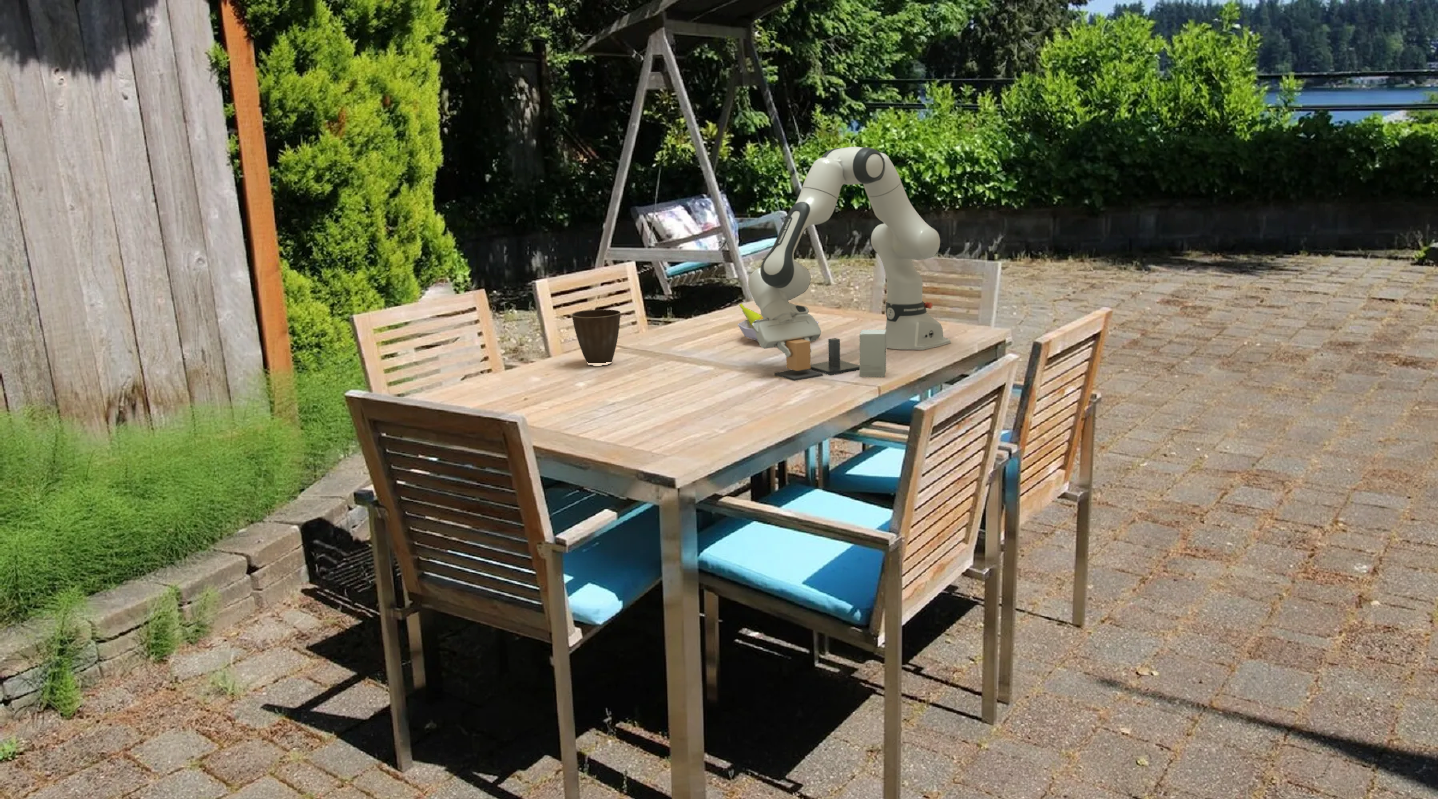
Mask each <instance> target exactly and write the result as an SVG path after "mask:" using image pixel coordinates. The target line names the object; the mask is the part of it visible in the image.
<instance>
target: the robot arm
mask: <svg viewBox="0 0 1438 799" xmlns="http://www.w3.org/2000/svg"><path fill="white" fill-rule="evenodd" d="M861 184H862V185H863V187H864V190H865V193H866V196H867V199H868V201H869V203H870V206H871V208H872V210H873V212H874V215H875V217H876V218H877V219H878V220H879V221H880V222H882V223H880V224H878V225H877V226H875V228H873V231H872V232H871V234H870V235H871V236H870V243H871V244H870V245H871V247H872V248H873V250H874V251H875V253H876V254H877V256H879V258H880V261H881V263H882V265H883V270H884V272H885V277H886V292H887V293H886V302H885V316H886V320H885V321H886V323H885V329H884V330H886V349H892V350H917V351H918V350H919V351H922V350H923V351H924V350H929V349H932V348H937V347H940V346H944V345H948V344H951V339H949V338H947V337H945V336H944V330H943V329H944V328H943V326H942V323H941V322H939V321H938V320H937V319H936V318H934V317H933V316H931V315H930V314H929V313H928V311H927V309H930V310H931V309H932V308H933V306H934V305H933V303H932V302H928V301H926V302H925V301H923V277H922V275H921V273H919V271H918V270H917V269H916V267H915V265H914V262H913V261H915V260H916V261H920V260H927V259H928V260H929V259H932V258H933V257H934V256H936V255H937V253H938V252H939V249H940V244H941V238H940V234H939V232H938V231H937V230H936V229H935V228H933V227H931V226H930V225H929V224H928V223H927V222H925V220H924V219H923V218H922V217H921V215H919V213H918V212H917V211H916V209H915V207H914V206H913V205H912V203H911V201H910V199H909V198H908V195H907V192H906V191H905V188H904V184H903V183H902V180H901V178H900V175H899V173H898V171H897V169H896V167H895V166H894V164H893V162H892V161H891V159H890V158H889V156H888V155H887V154H886V153H884V152H880V151H878V150H877V149H875V148H872V147H868V146H867V147H866V146H865V147H862V146H861V147H860V146H849V147H847V146H846V147H841V148H840V147H835V148H832V149H829V150H828V151H826V152H825V153H824V154H823V155H822V157H820V158H818V159H815V161H814V162H813V163H812V166H811V167H810V169H809V171H808V173H807V174H806V177H805V179H804V182H803V184H802V187H801V189H800V193H799V195H798V197H797V200H796V202H795V203H794V204H793V205H792V206H791V208H790V210H789V211H788V213H787V215H786V217H785V219H784V221H783V224H782V226H781V228H780V230H779V231H778V232H779V233H778V234H777V237H776V239H775V241H774V243H773V245H772V247H771V249H770V250H769V251H768V253H767V254H766V256H765V257H764V259H762V262H761V265H760V267H758V268H755V270H754V271H753V272H752V273H751V274H750V275H749V277H748V280H747V285H748V289H749V293H750V295H751V298H752V299H753V302H754V303H755V305H756V307H758V308H759V310H760V315H762V317H763V319H760V320H755V321H754V322H753V323H752V327H753V329H754V331H755V332H756V336H757V339H758V341H757V342H758V344H759V346H760V347H761V348H763V350H764V349H772V348H777V349H778V350H779V351H781V352H782V353H783V354H784V355H785V357H792V355H793V352H792V350H791V349H788V348H787V347H786V341H789V340H795V339H803V340H807V341H810V342H815V341H817V340H818V339H819V338H820V336H821V335H822V330H821V327H820V326H819V323H818V324H817V322H818V321H817V320H816V319H815V317H813V315H811V314H810V313H809V310H810V309H809V307H807V306H805V305H800V304H794V303H791V302H790V301H791V300H794V299H795V298H797V297H799V296H801V295H803V294H804V293H805V292H806V291H807V290H808V288H809V287H810V284H811V280H812V279H811V273H810V271H809V269H807V268H806V267H805V266H804V265H802V264H801V263H800V262H798V261H796V260H795V258H794V257H795V256H794V255H795V254H794V253H795V251H796V249H797V247H798V245H799V242H800V239H801V238H802V236H803V233H804V231H805V229H807V228H808V227H810V226H814V225H815V226H816V225H821V224H823V223H825V222H827V221H829V219H830V218H831V216H832V215H833V213H834V211H835V209H836V205H837V202H838V200H839V196H840V193H841V189H842V186H843V185H848V186H852V185H853V186H854V185H861ZM816 321H817V322H816ZM811 353H812V348H811V347H810V354H811Z"/></svg>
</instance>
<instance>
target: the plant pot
mask: <svg viewBox="0 0 1438 799" xmlns="http://www.w3.org/2000/svg"><path fill="white" fill-rule="evenodd" d="M571 317H572V323H573V327H574V332H575V334H576V338H577V341H578V345H579V347H580V350H581V353H582V355H583V357H584V360H585V362H586V363H587V362H588V363H606V362H613V359H614V357H615V356H614V355H615V352H616V348H617V344H618V337H619V334H620V333H619V331H620V325H621V324H620V323H621V322H620V321H621V311H619V310H617V309H589V310H588V309H587V310H581V311H577V312H573V313H572V314H571Z"/></svg>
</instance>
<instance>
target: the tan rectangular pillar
mask: <svg viewBox="0 0 1438 799" xmlns="http://www.w3.org/2000/svg"><path fill="white" fill-rule="evenodd" d="M785 346H786V347H787V348H788V349H791V350H792V352H793V355H792V357H786V356H785V357H786V358H785V359H786V364H785V365H786V369H788V370H795V371H799V370H805V369H808V370H809V369H810V368H811V364H812V362H811V353H810V348H811V341H807V340H803V339H795V340H789V341H786V345H785Z"/></svg>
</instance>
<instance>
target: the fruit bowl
mask: <svg viewBox="0 0 1438 799" xmlns="http://www.w3.org/2000/svg"><path fill="white" fill-rule="evenodd" d="M738 306H739V307H740V309H741V310H742V313H743V315H744V316H745V317H746V318H745V319H744V320H743V321H741V322H739V323H737V327H738V328H739V329H740V331H741V332H742V334H743V336H744V337H745V338H748V339H751V340H754V341H756V342H758V339H757V336H756V332H755V331H754V329H753V327H752V323H753V322H754V321H755V320H760V319H763V317H762V315H761V313H758V312H756V311H754V310H752V309H749V308H747V307H745V306H744V304H743V303H739V304H738ZM815 321H816V322H817V324H818V325H819V323H820V322H819V321H817V320H815Z"/></svg>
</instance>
